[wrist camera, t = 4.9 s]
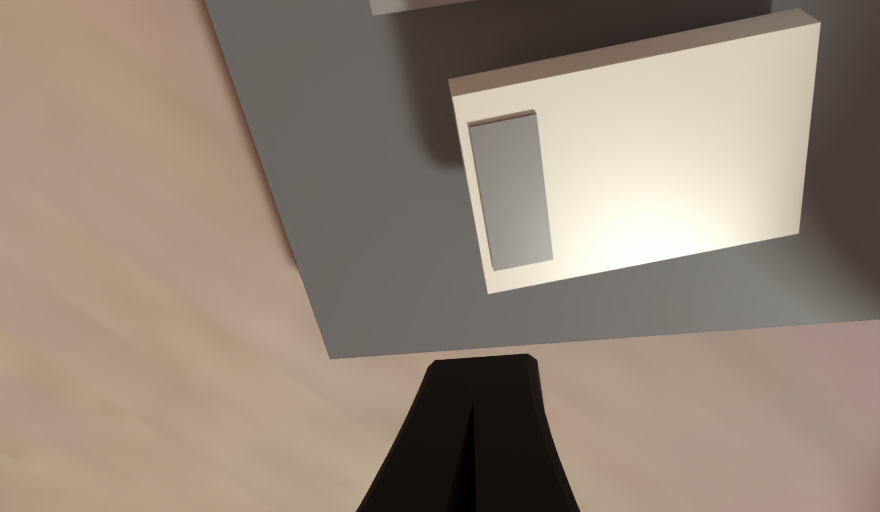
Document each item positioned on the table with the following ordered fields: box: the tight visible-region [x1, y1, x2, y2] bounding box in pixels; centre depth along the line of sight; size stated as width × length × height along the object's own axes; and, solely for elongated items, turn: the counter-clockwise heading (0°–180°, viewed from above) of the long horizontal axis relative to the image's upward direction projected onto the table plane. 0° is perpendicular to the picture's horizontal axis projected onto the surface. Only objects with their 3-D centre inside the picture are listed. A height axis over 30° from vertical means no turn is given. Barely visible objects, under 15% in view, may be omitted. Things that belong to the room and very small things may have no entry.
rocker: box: [448, 8, 821, 294], centre depth 15 cm, size 6×4×1 cm
